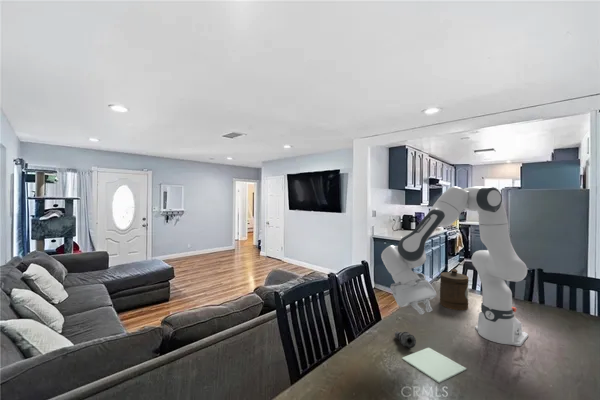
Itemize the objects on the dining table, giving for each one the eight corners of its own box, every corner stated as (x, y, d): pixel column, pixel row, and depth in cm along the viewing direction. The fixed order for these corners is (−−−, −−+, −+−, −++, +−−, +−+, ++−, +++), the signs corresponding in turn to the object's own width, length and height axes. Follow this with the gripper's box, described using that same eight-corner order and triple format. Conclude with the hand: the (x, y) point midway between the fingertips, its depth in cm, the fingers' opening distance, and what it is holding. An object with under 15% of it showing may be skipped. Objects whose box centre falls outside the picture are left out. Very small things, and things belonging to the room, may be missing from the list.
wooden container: (473, 310, 155) (474, 272, 155) (447, 310, 155) (448, 272, 155) (459, 300, 170) (459, 265, 170) (435, 300, 170) (435, 265, 170)
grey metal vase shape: (417, 348, 114) (401, 340, 126) (416, 333, 116) (401, 327, 127) (404, 349, 113) (389, 340, 125) (403, 333, 115) (389, 327, 126)
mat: (428, 348, 116) (428, 347, 116) (466, 369, 102) (466, 368, 102) (402, 358, 108) (402, 357, 108) (439, 383, 94) (439, 381, 94)
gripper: (392, 280, 108) (413, 314, 100) (426, 273, 118) (448, 304, 109) (384, 288, 112) (403, 321, 104) (417, 281, 122) (437, 311, 113)
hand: (426, 312), depth 106 cm, fingers open, 3 cm apart
